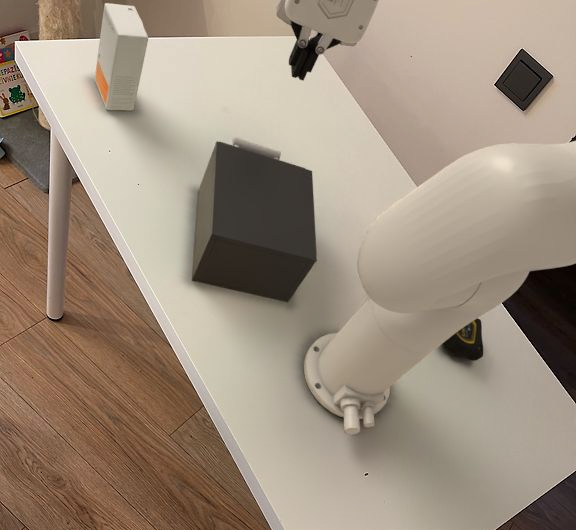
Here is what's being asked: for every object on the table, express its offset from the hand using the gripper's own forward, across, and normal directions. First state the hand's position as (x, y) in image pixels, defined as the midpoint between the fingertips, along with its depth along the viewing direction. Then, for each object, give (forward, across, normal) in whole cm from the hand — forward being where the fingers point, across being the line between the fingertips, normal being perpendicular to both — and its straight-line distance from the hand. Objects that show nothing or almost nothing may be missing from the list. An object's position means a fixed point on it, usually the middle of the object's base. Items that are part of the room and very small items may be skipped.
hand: (297, 72), depth 78 cm
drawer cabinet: (+17, -2, -16) cm, 24 cm away
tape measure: (+17, +33, -25) cm, 45 cm away
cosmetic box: (+16, -22, +6) cm, 28 cm away
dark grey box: (+16, -2, -12) cm, 20 cm away
